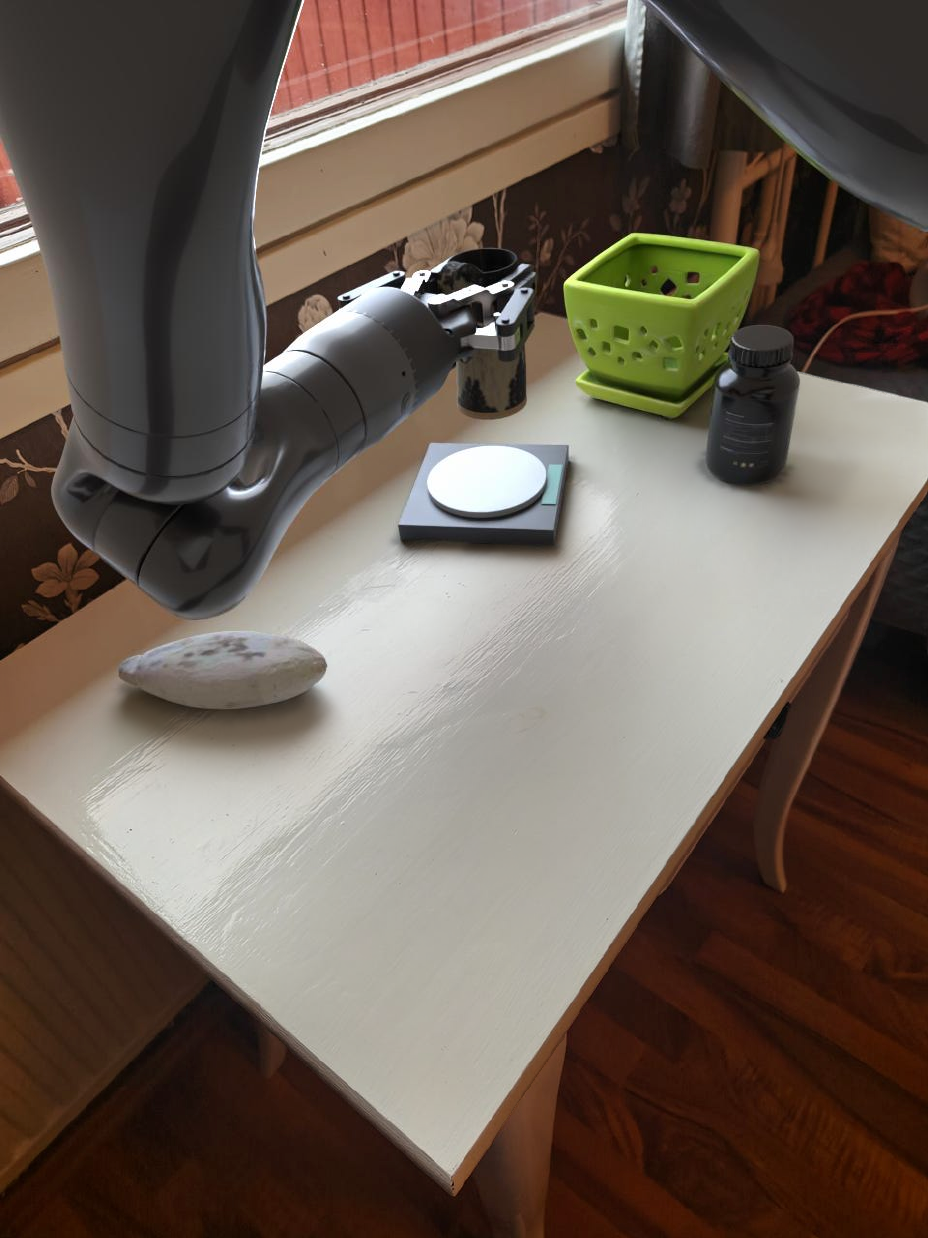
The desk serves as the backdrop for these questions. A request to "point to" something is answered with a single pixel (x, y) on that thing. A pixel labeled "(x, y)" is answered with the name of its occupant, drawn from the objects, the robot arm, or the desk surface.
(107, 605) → the desk surface
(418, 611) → the desk surface
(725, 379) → the supplement bottle
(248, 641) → the decorative stone
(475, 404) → the mug
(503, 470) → the scale
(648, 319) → the flower pot
